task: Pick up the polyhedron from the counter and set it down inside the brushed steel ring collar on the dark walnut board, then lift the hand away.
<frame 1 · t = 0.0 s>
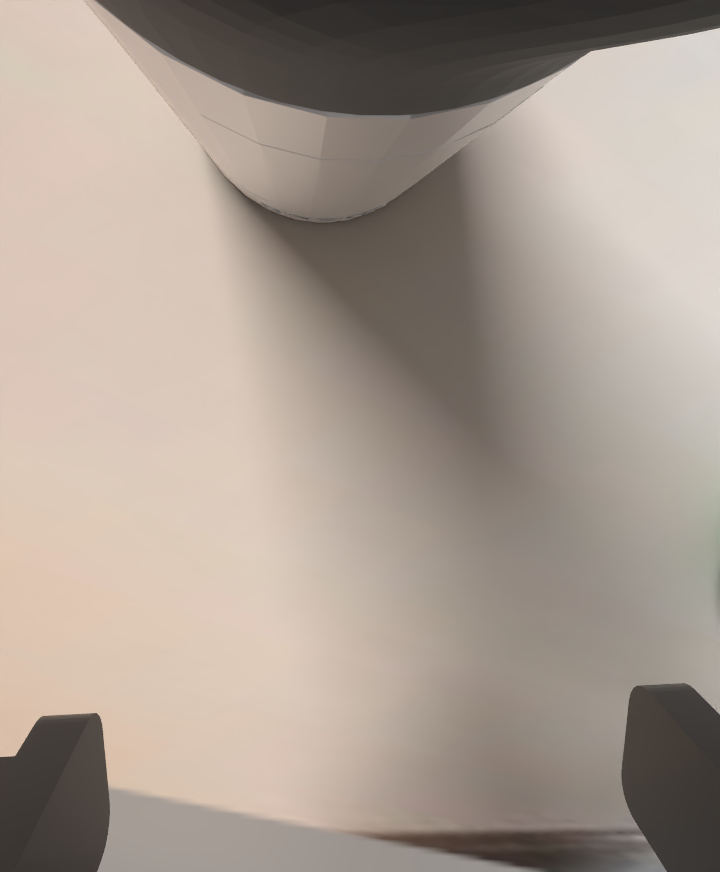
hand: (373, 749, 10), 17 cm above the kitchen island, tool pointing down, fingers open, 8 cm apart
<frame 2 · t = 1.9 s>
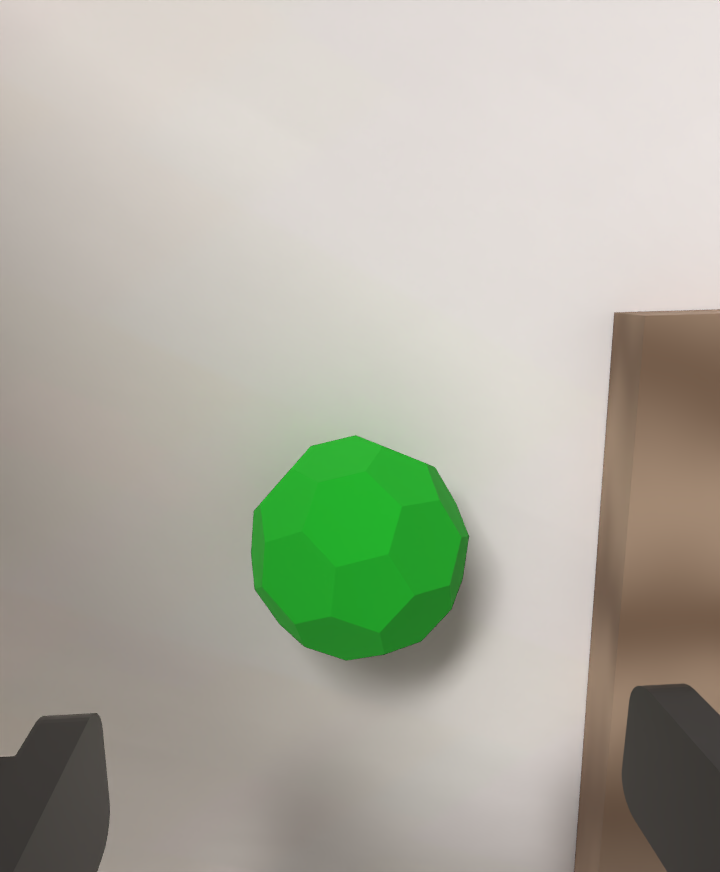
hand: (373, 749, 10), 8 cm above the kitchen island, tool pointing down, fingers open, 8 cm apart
polyhedron: (349, 506, 17), on the kitchen island
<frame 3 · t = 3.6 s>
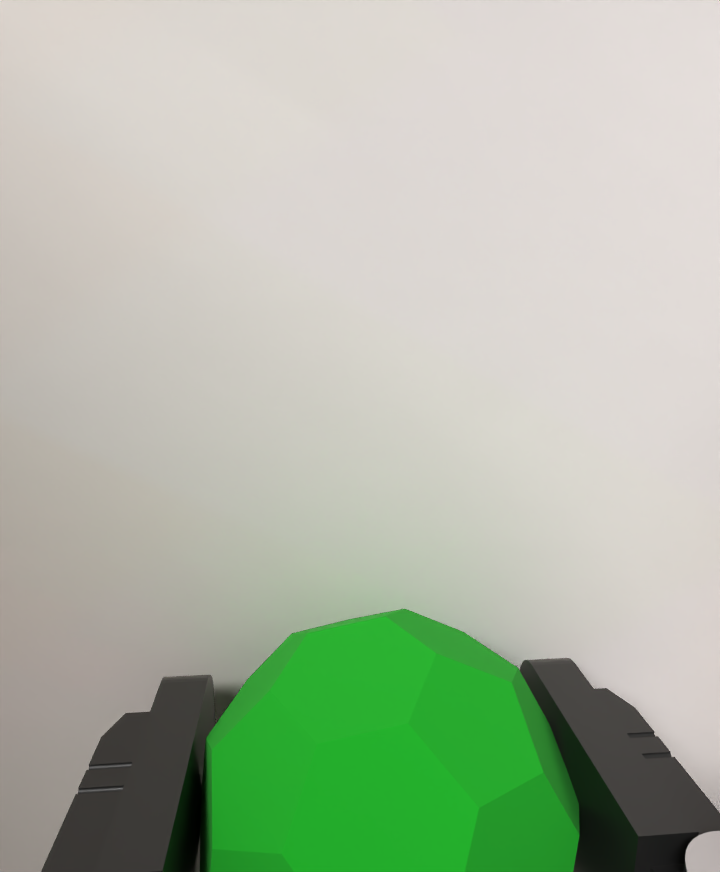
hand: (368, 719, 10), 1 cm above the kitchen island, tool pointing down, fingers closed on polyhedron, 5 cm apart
polyhedron: (365, 687, 11), on the kitchen island, touching gripper
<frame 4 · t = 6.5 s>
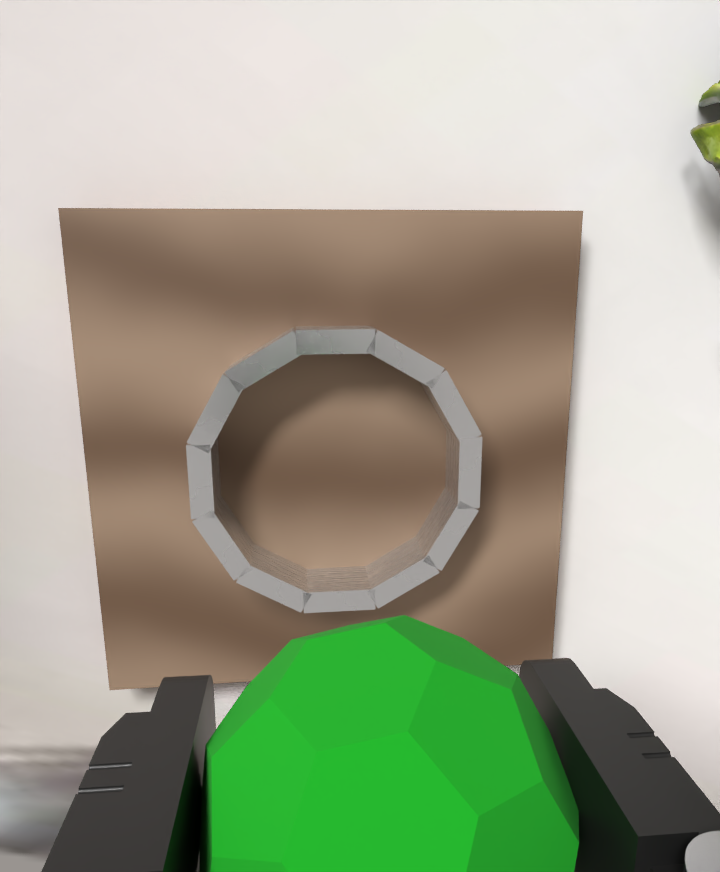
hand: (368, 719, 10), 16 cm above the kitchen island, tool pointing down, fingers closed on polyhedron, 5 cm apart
polyhedron: (365, 693, 11), point 15 cm above the kitchen island, touching gripper
steel ring: (336, 469, 23), on the walnut board, point 2 cm above the kitchen island
walnut board: (332, 452, 25), on the kitchen island
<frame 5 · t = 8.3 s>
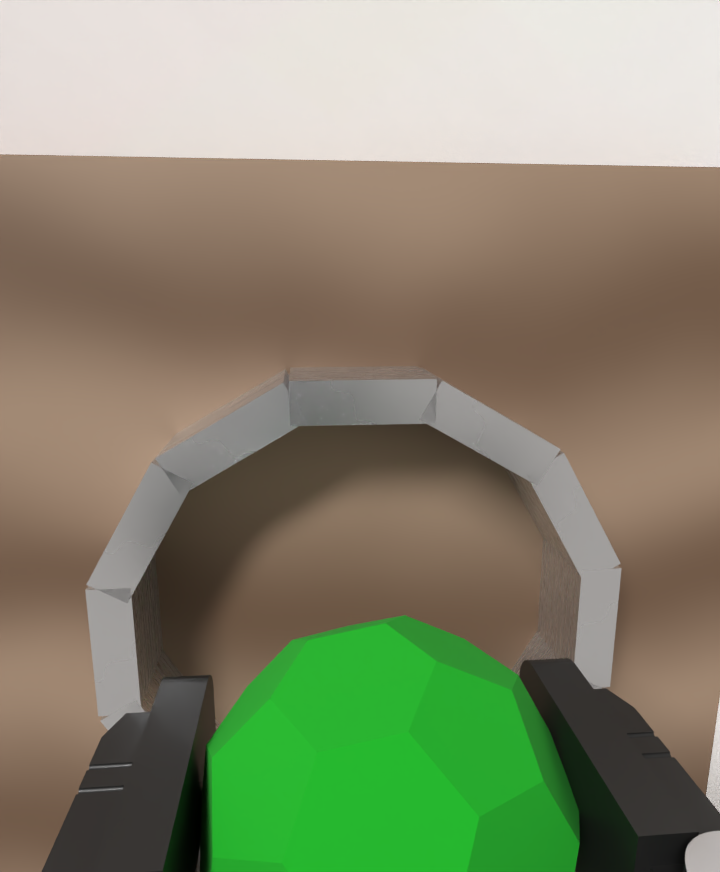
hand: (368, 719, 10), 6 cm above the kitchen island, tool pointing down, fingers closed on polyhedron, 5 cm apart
polyhedron: (366, 693, 11), point 5 cm above the kitchen island, touching gripper
steel ring: (358, 615, 13), on the walnut board, point 2 cm above the kitchen island
walnut board: (349, 565, 16), on the kitchen island
when the fingers open (4 cm above the kitchen island, at t = 9.6 s): polyhedron drops 2 cm, resting on walnut board.
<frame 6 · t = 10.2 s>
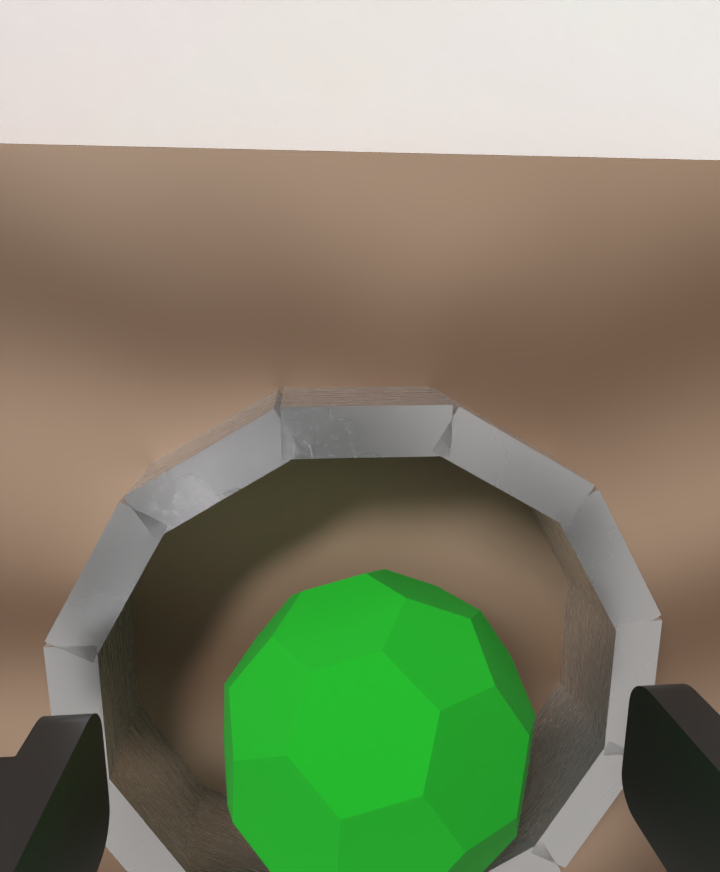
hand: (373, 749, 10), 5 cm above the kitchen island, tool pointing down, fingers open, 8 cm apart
polyhedron: (361, 643, 13), point 1 cm above the kitchen island, touching walnut board
steel ring: (360, 669, 12), on the walnut board, point 2 cm above the kitchen island
walnut board: (349, 604, 14), on the kitchen island
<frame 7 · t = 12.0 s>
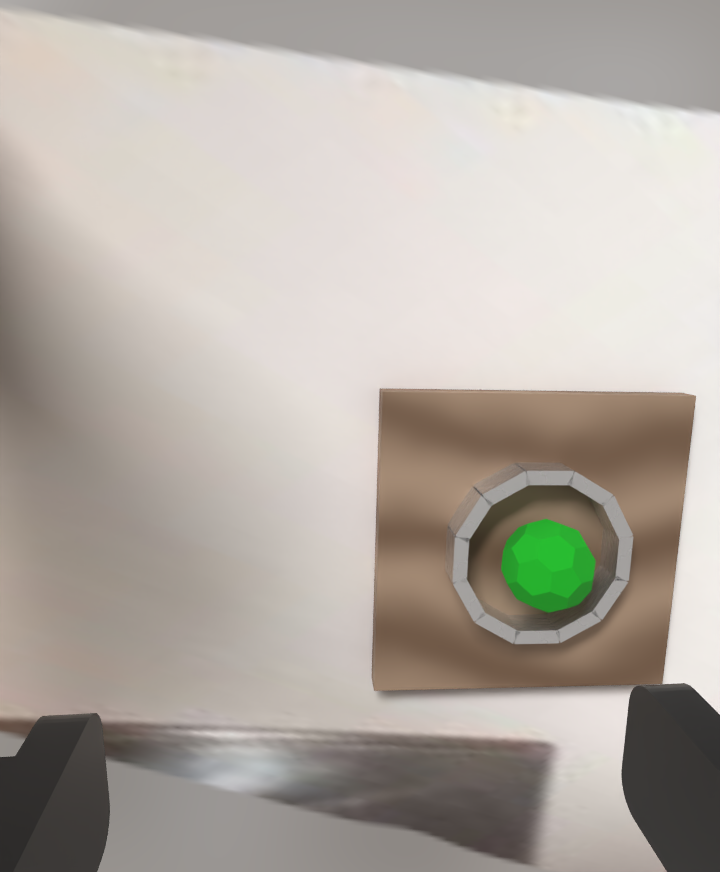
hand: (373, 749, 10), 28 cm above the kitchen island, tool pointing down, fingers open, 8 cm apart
polyhedron: (531, 548, 38), point 1 cm above the kitchen island, touching walnut board
steel ring: (537, 553, 36), on the walnut board, point 2 cm above the kitchen island
walnut board: (522, 538, 39), on the kitchen island
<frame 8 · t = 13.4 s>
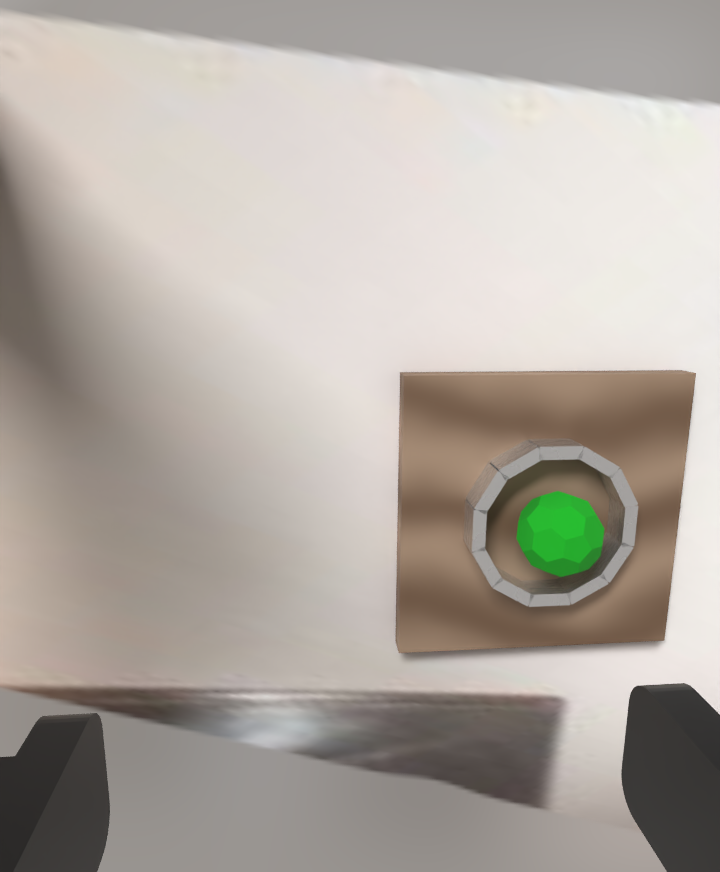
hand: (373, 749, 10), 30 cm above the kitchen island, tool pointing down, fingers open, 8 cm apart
polyhedron: (543, 518, 40), point 1 cm above the kitchen island, touching walnut board
steel ring: (549, 522, 39), on the walnut board, point 2 cm above the kitchen island
walnut board: (534, 509, 42), on the kitchen island
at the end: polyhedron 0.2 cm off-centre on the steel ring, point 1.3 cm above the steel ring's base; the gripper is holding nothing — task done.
